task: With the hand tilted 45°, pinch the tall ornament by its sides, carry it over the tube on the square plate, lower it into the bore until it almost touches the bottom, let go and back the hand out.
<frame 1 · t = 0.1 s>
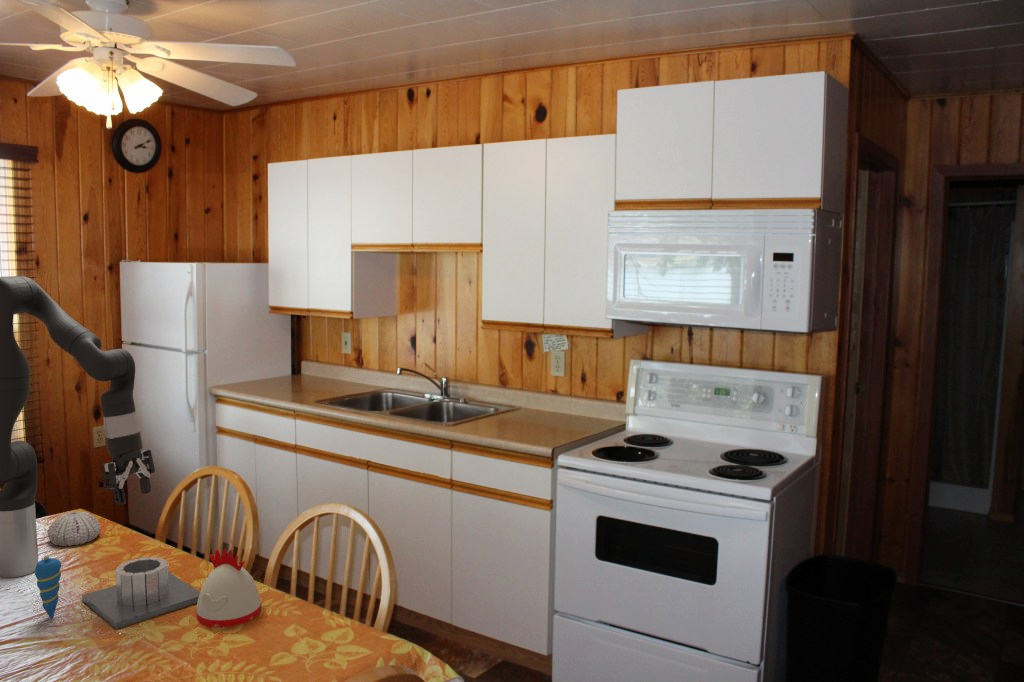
hand: (134, 498, 197), 22 cm above the table, tool pointing down, fingers open, 8 cm apart
sea urchin shell: (75, 541, 231), on the table
tube on square plate: (143, 600, 192), on the table
kitchen timer: (229, 614, 187), on the table
ornament: (51, 618, 184), on the table
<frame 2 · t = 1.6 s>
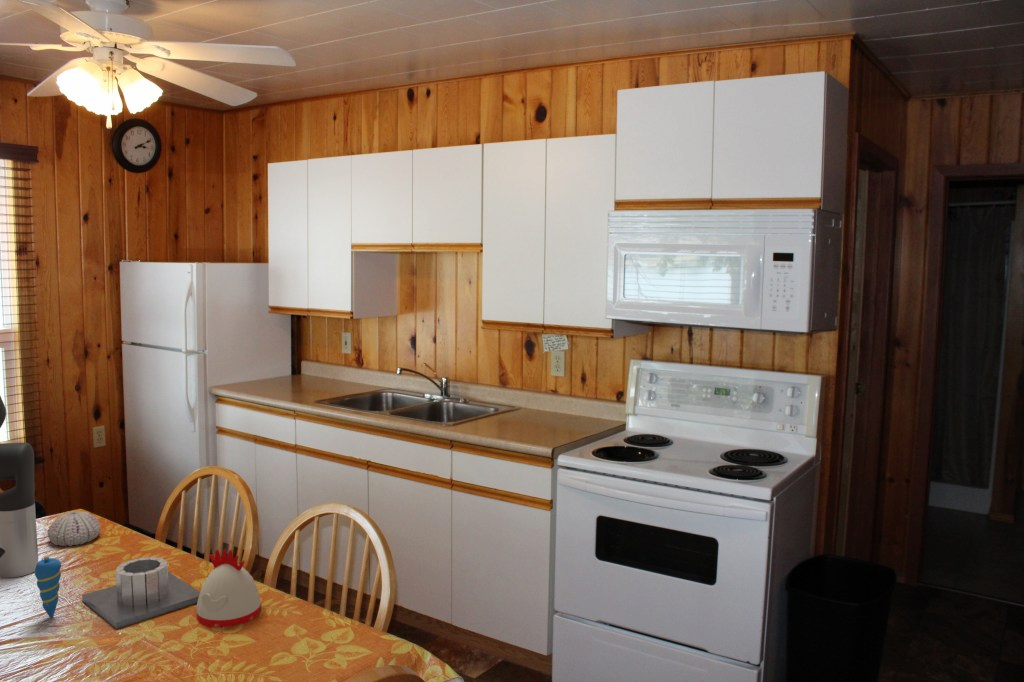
nothing on the table moved.
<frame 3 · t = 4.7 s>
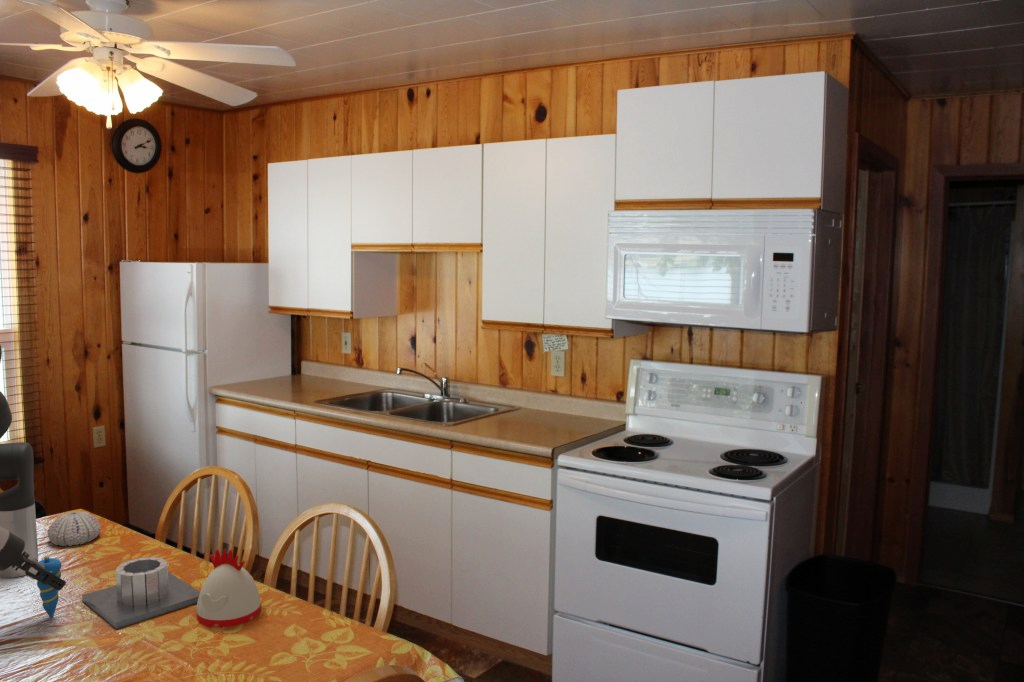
hand: (57, 582, 184), 8 cm above the table, tool tilted 45°, fingers closed on ornament, 5 cm apart
ornament: (51, 618, 184), on the table, touching gripper
everything else where it was.
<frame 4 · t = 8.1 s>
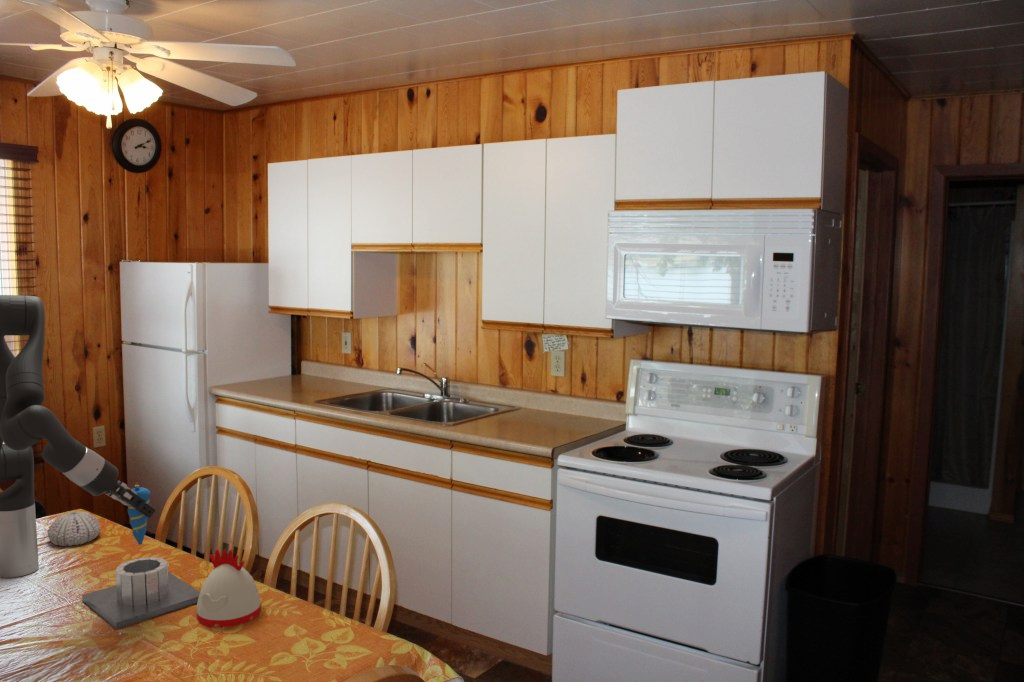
hand: (146, 510, 191), 21 cm above the table, tool tilted 45°, fingers closed on ornament, 5 cm apart
ornament: (139, 545, 191), point 14 cm above the table, touching gripper
everything else where it was.
when the fingers open (10 cm above the table, at t = 11.5 s): ornament stays where it is, resting on tube on square plate.
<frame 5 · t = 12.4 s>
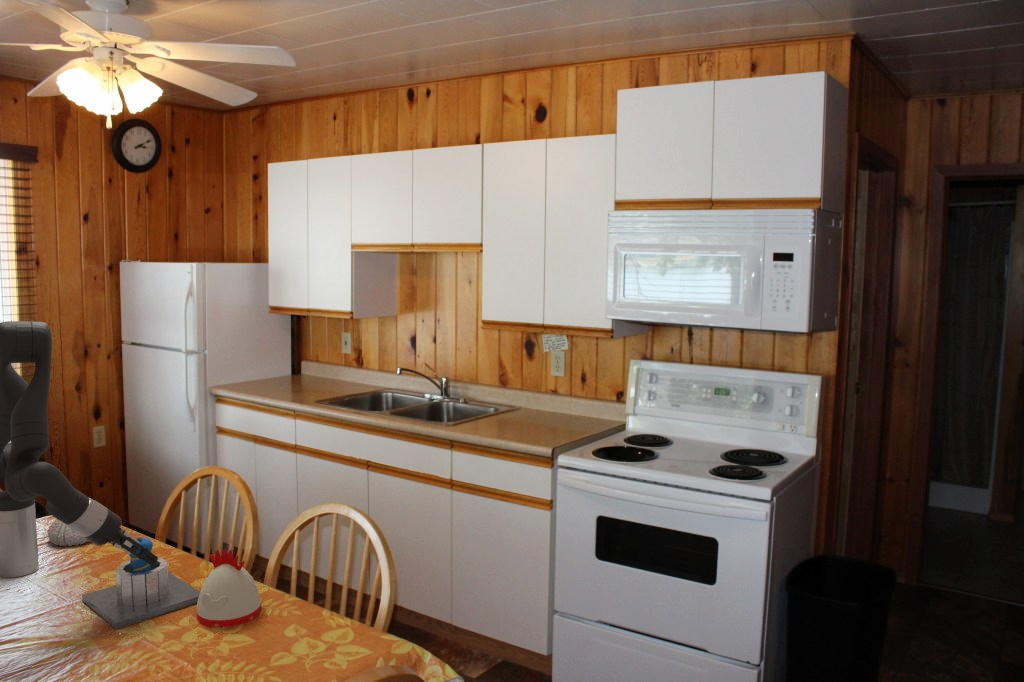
hand: (147, 556, 192), 10 cm above the table, tool tilted 45°, fingers open, 8 cm apart
ornament: (142, 596, 192), point 1 cm above the table, touching tube on square plate
everything else where it was.
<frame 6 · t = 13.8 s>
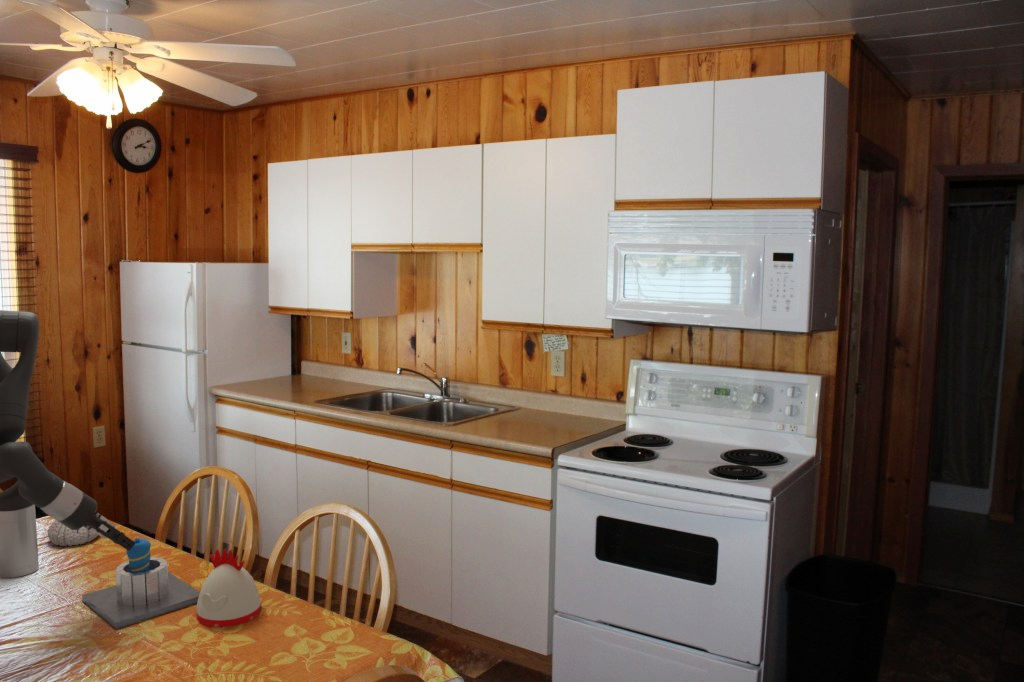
hand: (124, 541, 188), 15 cm above the table, tool tilted 45°, fingers open, 8 cm apart
nothing on the table moved.
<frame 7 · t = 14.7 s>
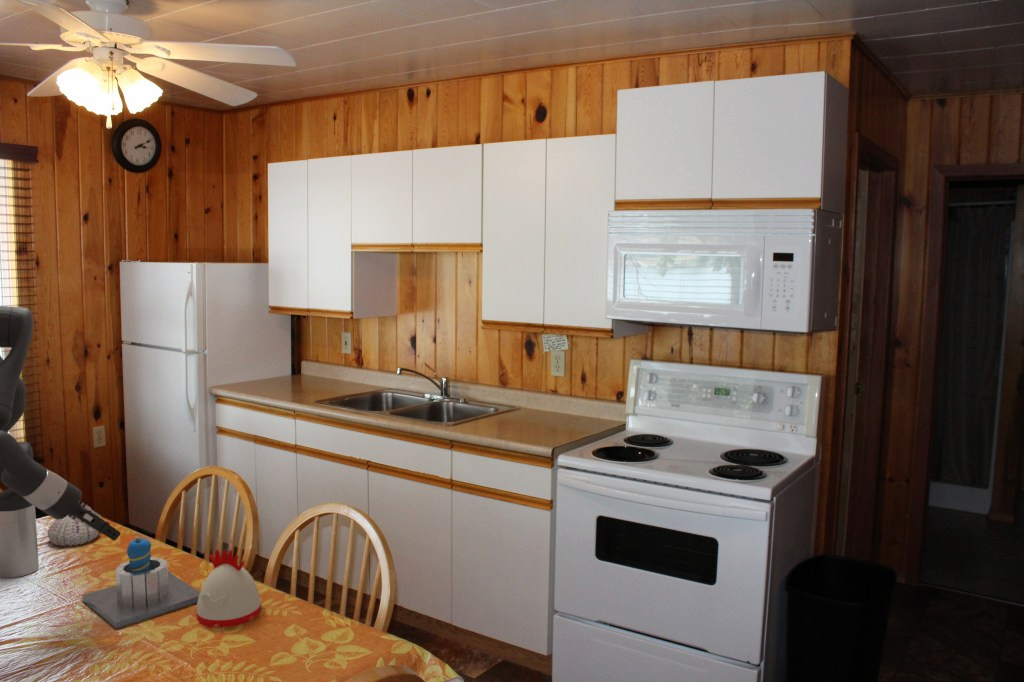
hand: (109, 531, 185), 19 cm above the table, tool tilted 45°, fingers open, 8 cm apart
nothing on the table moved.
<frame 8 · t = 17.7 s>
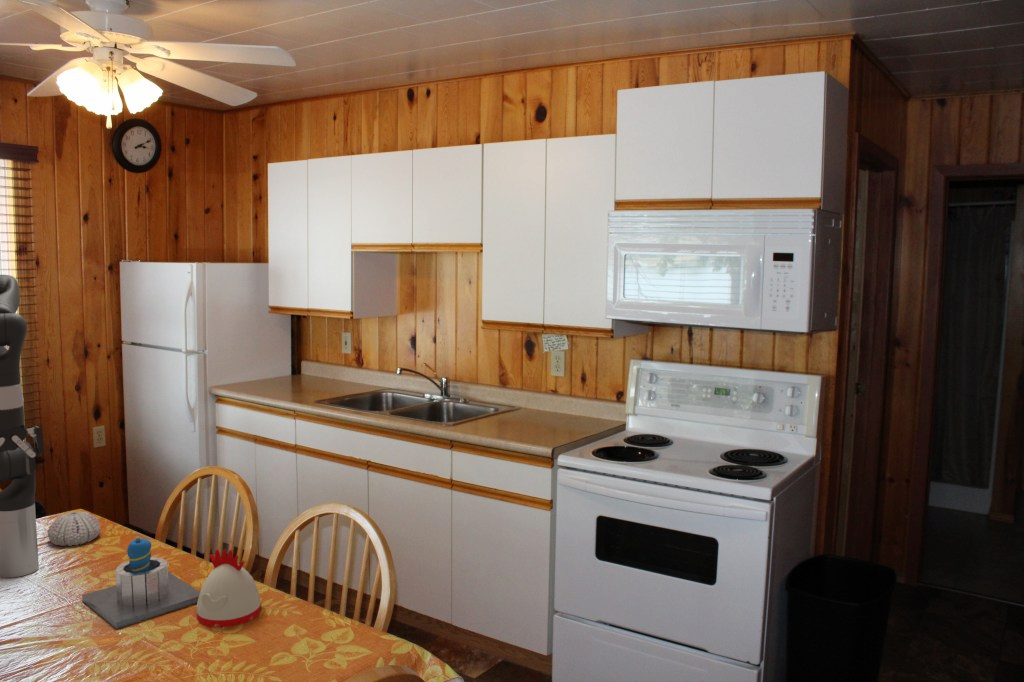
hand: (8, 477, 180), 32 cm above the table, tool pointing down, fingers open, 8 cm apart
nothing on the table moved.
at the end: ornament 0.3 cm off-centre on the tube on square plate, point 1.3 cm above the tube on square plate's base; ornament tilted 1°; the gripper is holding nothing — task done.
